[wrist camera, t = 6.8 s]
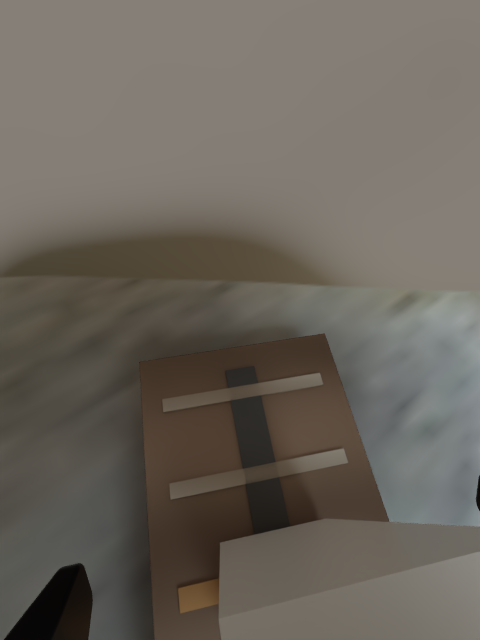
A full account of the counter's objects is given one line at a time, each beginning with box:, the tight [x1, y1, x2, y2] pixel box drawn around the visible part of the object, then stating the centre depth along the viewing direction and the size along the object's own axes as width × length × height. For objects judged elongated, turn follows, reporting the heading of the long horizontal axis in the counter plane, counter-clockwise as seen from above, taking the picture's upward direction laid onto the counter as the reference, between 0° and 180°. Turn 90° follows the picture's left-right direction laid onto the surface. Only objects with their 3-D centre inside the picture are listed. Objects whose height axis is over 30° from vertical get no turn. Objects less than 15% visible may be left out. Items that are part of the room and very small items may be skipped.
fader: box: [219, 519, 480, 640], centre depth 7 cm, size 2×4×9 cm
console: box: [139, 334, 389, 640], centre depth 12 cm, size 15×8×3 cm, turn 11°
